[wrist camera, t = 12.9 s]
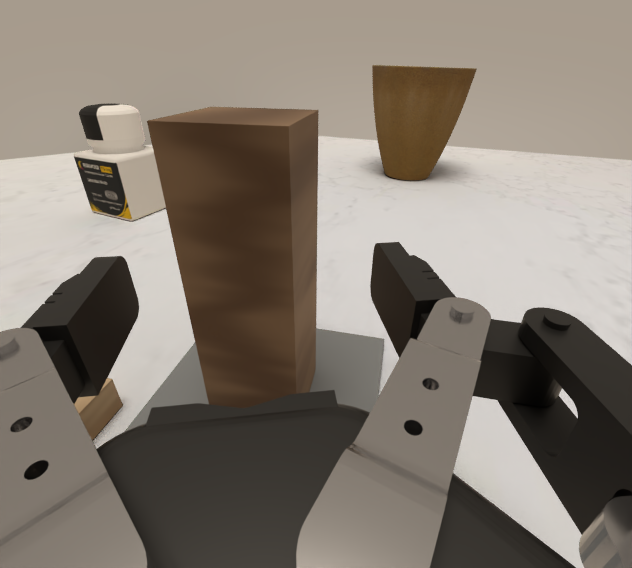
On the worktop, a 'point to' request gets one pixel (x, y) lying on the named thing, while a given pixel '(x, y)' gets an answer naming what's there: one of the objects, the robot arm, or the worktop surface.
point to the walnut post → (245, 244)
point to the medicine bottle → (118, 163)
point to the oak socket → (99, 408)
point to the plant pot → (416, 115)
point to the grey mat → (331, 374)
